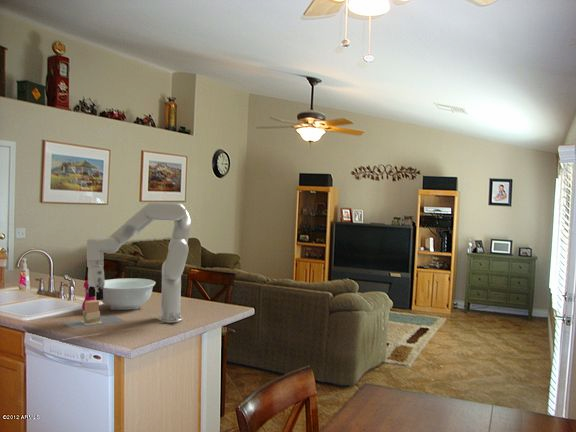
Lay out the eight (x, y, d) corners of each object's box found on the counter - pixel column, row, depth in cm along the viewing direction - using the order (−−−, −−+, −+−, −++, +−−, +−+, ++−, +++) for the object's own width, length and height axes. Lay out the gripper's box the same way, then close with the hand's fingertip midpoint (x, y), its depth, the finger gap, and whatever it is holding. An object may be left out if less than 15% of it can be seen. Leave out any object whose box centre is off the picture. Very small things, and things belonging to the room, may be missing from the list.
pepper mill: (87, 317, 247) (88, 278, 247) (78, 315, 251) (79, 276, 251) (99, 314, 253) (100, 276, 253) (91, 312, 257) (91, 275, 257)
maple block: (99, 322, 234) (100, 311, 234) (87, 324, 230) (87, 313, 230) (95, 319, 238) (95, 309, 238) (82, 321, 234) (82, 311, 234)
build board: (125, 323, 238) (125, 320, 238) (72, 330, 222) (72, 328, 222) (113, 317, 249) (113, 315, 249) (62, 324, 232) (62, 322, 232)
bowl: (80, 311, 259) (81, 284, 258) (118, 300, 290) (119, 276, 289) (132, 317, 249) (133, 289, 249) (166, 305, 280) (166, 280, 280)
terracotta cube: (98, 311, 234) (99, 301, 234) (88, 313, 230) (88, 302, 230) (95, 310, 237) (95, 299, 237) (84, 311, 234) (84, 301, 234)
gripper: (110, 264, 231) (110, 300, 232) (96, 261, 244) (96, 294, 245) (94, 266, 226) (94, 302, 227) (81, 262, 239) (81, 296, 240)
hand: (95, 298), depth 236 cm, fingers open, 9 cm apart
